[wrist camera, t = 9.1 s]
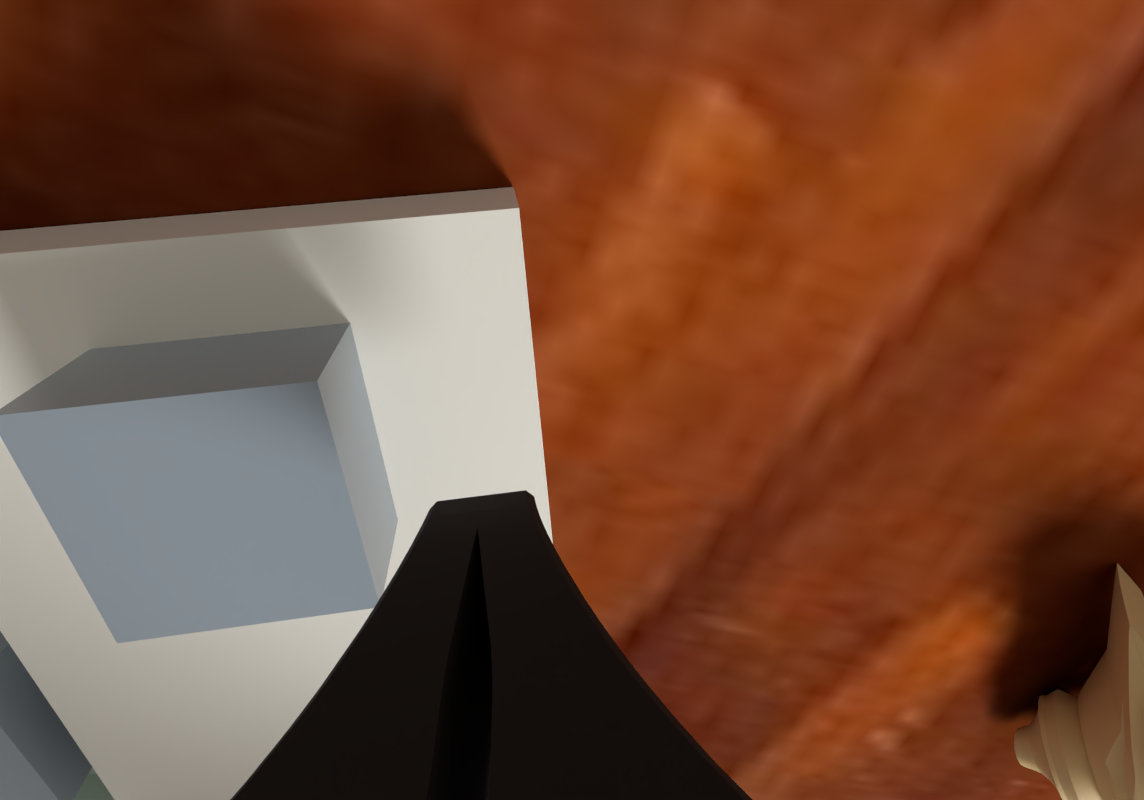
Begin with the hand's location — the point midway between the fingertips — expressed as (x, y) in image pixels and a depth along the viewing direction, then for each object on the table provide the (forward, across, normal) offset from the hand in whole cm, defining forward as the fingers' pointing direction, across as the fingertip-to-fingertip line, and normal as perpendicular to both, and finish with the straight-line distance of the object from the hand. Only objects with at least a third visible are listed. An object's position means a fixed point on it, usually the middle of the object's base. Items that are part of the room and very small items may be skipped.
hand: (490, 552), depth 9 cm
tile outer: (+4, +4, 0) cm, 6 cm away
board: (+7, +5, +4) cm, 9 cm away
